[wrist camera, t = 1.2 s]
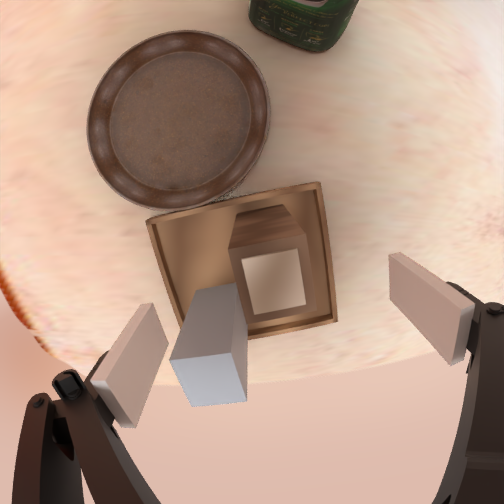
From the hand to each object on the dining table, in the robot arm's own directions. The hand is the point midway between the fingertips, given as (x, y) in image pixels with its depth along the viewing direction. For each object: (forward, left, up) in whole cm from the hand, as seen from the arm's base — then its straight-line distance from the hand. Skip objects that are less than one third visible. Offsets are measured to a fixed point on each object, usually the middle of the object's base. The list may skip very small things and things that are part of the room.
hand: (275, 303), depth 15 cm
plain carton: (+6, +7, -14) cm, 17 cm away
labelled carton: (0, 0, -14) cm, 14 cm away
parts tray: (+2, +3, -15) cm, 15 cm away
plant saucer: (+6, -13, -15) cm, 21 cm away
